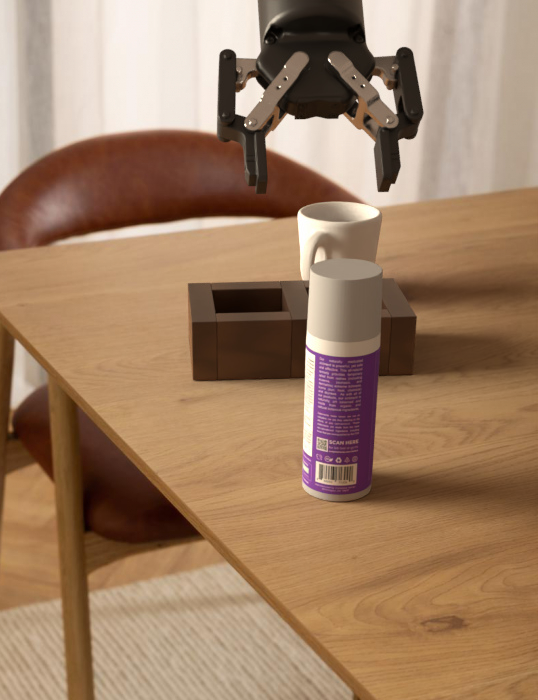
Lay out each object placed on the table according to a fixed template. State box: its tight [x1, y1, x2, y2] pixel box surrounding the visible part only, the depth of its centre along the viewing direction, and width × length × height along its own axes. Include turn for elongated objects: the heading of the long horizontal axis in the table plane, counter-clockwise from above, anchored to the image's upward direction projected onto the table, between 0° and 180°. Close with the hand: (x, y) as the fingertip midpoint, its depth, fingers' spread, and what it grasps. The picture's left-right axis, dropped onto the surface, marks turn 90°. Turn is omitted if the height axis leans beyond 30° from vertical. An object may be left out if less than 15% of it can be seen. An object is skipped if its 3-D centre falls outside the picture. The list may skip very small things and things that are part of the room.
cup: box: [297, 201, 383, 281], centre depth 112 cm, size 11×8×8 cm
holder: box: [187, 277, 418, 381], centre depth 100 cm, size 18×10×5 cm, turn 93°
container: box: [301, 258, 384, 502], centre depth 76 cm, size 5×5×15 cm
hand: (324, 187), depth 81 cm, fingers open, 8 cm apart
